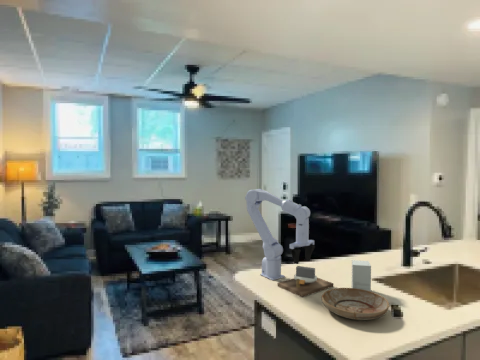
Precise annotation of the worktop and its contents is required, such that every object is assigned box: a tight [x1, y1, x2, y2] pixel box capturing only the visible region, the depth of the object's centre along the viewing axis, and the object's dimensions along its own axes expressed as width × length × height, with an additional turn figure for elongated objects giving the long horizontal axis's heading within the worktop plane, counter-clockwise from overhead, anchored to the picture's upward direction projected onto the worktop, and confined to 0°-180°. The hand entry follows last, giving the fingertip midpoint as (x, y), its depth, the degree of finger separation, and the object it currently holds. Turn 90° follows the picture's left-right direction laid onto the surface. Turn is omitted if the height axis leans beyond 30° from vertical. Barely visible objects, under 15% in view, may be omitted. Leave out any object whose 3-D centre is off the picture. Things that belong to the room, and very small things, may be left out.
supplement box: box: [351, 259, 372, 292], centre depth 141 cm, size 7×7×13 cm
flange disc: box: [293, 265, 318, 284], centre depth 146 cm, size 12×10×5 cm
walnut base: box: [277, 277, 334, 298], centre depth 147 cm, size 15×20×5 cm
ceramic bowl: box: [321, 287, 390, 321], centre depth 122 cm, size 23×24×5 cm
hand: (302, 261), depth 152 cm, fingers open, 7 cm apart
